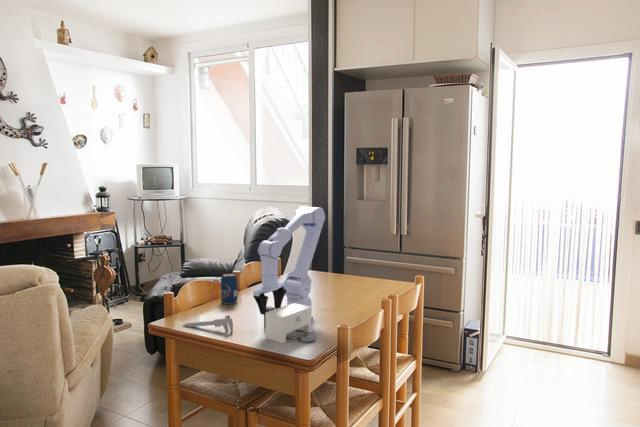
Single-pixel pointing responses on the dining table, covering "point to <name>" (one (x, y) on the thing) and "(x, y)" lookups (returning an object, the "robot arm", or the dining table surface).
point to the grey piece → (290, 335)
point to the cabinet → (287, 321)
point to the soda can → (229, 288)
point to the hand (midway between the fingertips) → (270, 311)
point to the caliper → (214, 323)
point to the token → (306, 338)
